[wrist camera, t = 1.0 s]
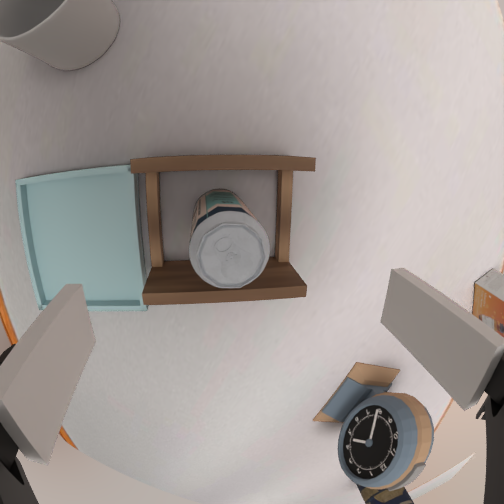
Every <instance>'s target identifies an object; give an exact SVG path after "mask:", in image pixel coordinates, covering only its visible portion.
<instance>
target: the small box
mask: <svg viewBox="0 0 504 504" xmlns="http://www.w3.org/2000/svg"><path fill="white" fill-rule="evenodd" d="M472 314H473V315H474V316H475V317H477V318H478V319H479V320H481V321H482V322H484V323H485V324H486V325H488V326H489V327H490V328H492V329H493V330H494V331H496V332H497V333H498V334H500V335H501V336H502V337H504V274H502V273H500V272H498V271H497V270H495V269H492V270H490V271H489V272H488V273H487V274H485V275H484V276H483V277H481V278H480V279H479V280H478V281H476V282H475V292H474V304H473V313H472Z"/></svg>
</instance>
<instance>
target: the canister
mask: <svg viewBox="0 0 504 504" xmlns="http://www.w3.org/2000/svg"><path fill="white" fill-rule="evenodd" d="M357 486H358V488H359V491H360V493H361V495H362V497H363V499H364V501H365V504H414V503H413V501H412V499H411V497H410V496H409V494H408V492H407V491H406V489H405V487H402V488H399V489H396V490H392V491H389V490H388V488H385V489H370V488H367V487H363V486H361V485H359V484H357Z"/></svg>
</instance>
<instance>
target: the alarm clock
mask: <svg viewBox="0 0 504 504" xmlns="http://www.w3.org/2000/svg"><path fill="white" fill-rule="evenodd" d="M399 371H400V370H399V369H393V368H387V367H381V366H375V365H369V364H364V363H358V362H356V363H355V365H354V366H353V368H352V369H351V370H350V372H349V373H348V375H347V376H346V377H345V379H344V380H343V382H342V383H341V384H340V386H339V387H338V388H337V390H336V391H335V392H334V394H333V395H332V396H331V398H330V399H329V400H328V401H327V403H326V404H325V405H324V406H323V408H322V409H321V410H320V412H319V413H318V414H317V415H316V416H315V418H314V419H313V421H321V422H342V423H344V424H343V426H342V428H341V431H340V435H339V439H338V457H339V461H340V465H341V468H342V469H343V471H344V473H345V474H346V475H347V476H348V477H349V478H350V479H351V480H352V481H353V482H355V483H356V484H359V485H361V486H363V487H367V488H370V489H385V488H388V490H389V491H392V490H396V489H399V488H402V487H404V486H406V485H408V484H410V483H411V482H413V481H414V480H415V479H416V478H417V477H418V476H419V474H420V473H421V472H422V470H423V469H424V467H425V466H426V465H425V462H426V460H427V458H428V456H429V454H430V452H431V449H432V445H433V441H434V427H433V423H432V419H431V416H430V414H429V413H428V411H427V409H426V408H425V407H424V406H423V405H422V404H421V403H420V402H419V401H418V400H417V399H416V398H415V397H413V396H410V395H408V394H406V393H391V392H387V391H388V389H389V388H390V387H391V385H392V383H391V382H392V381H393V379H394V378H395V377H396V375H397V374H398V373H399Z"/></svg>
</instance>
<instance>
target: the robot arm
mask: <svg viewBox="0 0 504 504" xmlns="http://www.w3.org/2000/svg"><path fill="white" fill-rule="evenodd" d="M381 323H382V324H383V325H384V326H385V327H386V328H387V329H388V330H389V331H390V332H391V333H392V334H393V335H394V336H395V337H396V338H397V339H398V340H399V341H400V342H401V343H402V345H403V346H404V347H405V348H406V349H407V350H408V351H409V352H410V353H411V354H412V355H413V356H414V357H415V358H416V359H417V360H418V361H419V362H420V363H421V364H422V365H423V367H424V368H425V369H426V370H427V371H428V372H429V373H430V374H431V375H432V376H433V377H434V378H435V379H436V380H437V382H438V383H439V384H440V385H441V386H442V387H443V388H444V389H445V390H446V391H447V392H448V394H449V395H450V396H451V397H452V398H453V399H454V400H455V401H456V402H457V404H459V406H460V407H461V408H462V409H463V410H464V411H465V410H467V409H469V408H471V407H472V406H474V405H475V404H477V403H478V401H479V399H480V397H481V396H482V394H483V392H484V391H485V392H486V393H487V394H488V396H487V398H486V400H485V402H484V403H483V405H482V407H481V408H480V410H479V412H478V413H477V415H476V419H478V418H479V417H480V415H481V413H482V412H485V414H484V415H483V417H482V418H481V419H483V420H486V436H487V437H486V438H487V459H486V482H485V494H484V504H504V337H502V336H501V335H500V334H498V333H497V332H496V331H494V330H493V329H492V328H490V327H489V326H488V325H486V324H485V323H484V322H482V321H481V320H479V319H478V318H477V317H475V316H474V315H473V314H471V313H470V312H468V311H467V310H466V309H464V308H463V307H461V306H460V305H458V304H457V303H456V302H454V301H453V300H451V299H450V298H448V297H447V296H445V295H444V294H443V293H441V292H440V291H438V290H437V289H435V288H434V287H432V286H431V285H429V284H428V283H426V282H425V281H423V280H422V279H420V278H419V277H417V276H416V275H414V274H412V273H411V272H409V271H408V270H406V269H405V268H399V269H391V274H390V280H389V285H388V290H387V295H386V300H385V304H384V309H383V313H382V317H381ZM95 343H96V339H95V336H94V332H93V328H92V325H91V321H90V317H89V313H88V309H87V304H86V300H85V296H84V291H83V286H82V284H66V285H65V286H64V287H63V288H62V289H61V290H60V291H59V293H58V294H57V295H56V296H55V297H54V298H53V299H52V301H51V302H50V303H49V304H48V305H47V306H46V308H45V309H44V310H43V311H42V312H41V314H40V315H39V316H38V317H37V318H36V320H35V321H34V322H33V323H32V325H31V326H30V327H29V328H28V330H27V331H26V332H25V333H24V335H23V336H22V337H21V338H20V340H19V341H18V342H17V344H13V345H12V346H11V347H9V348H8V349H7V350H6V351H4V352H3V353H2V355H1V356H0V504H39V503H38V501H37V499H36V497H35V495H34V493H33V491H32V488H31V486H30V484H29V482H28V480H27V477H26V475H25V472H24V470H23V468H22V465H21V463H20V461H19V460H18V459H17V457H16V454H17V452H18V449H20V451H21V452H22V453H23V454H24V456H26V458H27V459H28V460H30V461H33V462H37V463H40V464H44V465H48V464H49V461H50V458H51V454H52V452H53V448H54V445H55V442H56V439H57V436H58V434H59V431H60V428H61V425H62V422H63V420H64V417H65V414H66V412H67V409H68V406H69V404H70V401H71V399H72V396H73V394H74V391H75V389H76V386H77V384H78V381H79V379H80V377H81V374H82V372H83V370H84V367H85V365H86V363H87V361H88V358H89V356H90V354H91V352H92V349H93V347H94V345H95Z"/></svg>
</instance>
